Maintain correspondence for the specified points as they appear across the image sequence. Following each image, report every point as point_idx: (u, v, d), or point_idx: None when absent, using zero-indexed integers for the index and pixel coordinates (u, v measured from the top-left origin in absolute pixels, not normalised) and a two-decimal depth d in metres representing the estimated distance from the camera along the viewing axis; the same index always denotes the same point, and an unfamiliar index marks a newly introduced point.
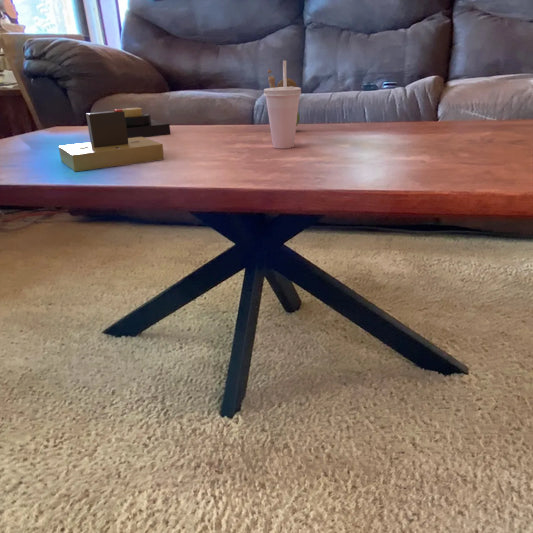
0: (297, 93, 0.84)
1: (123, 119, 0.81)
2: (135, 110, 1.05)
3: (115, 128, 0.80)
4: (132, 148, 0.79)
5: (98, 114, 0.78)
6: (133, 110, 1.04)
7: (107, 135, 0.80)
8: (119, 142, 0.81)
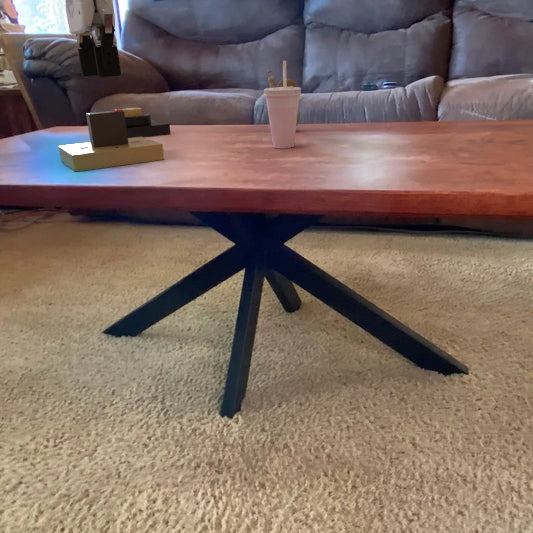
0: (297, 93, 0.84)
1: (123, 119, 0.81)
2: (135, 110, 1.05)
3: (115, 128, 0.80)
4: (132, 148, 0.79)
5: (98, 114, 0.78)
6: (133, 110, 1.04)
7: (107, 135, 0.80)
8: (119, 142, 0.81)
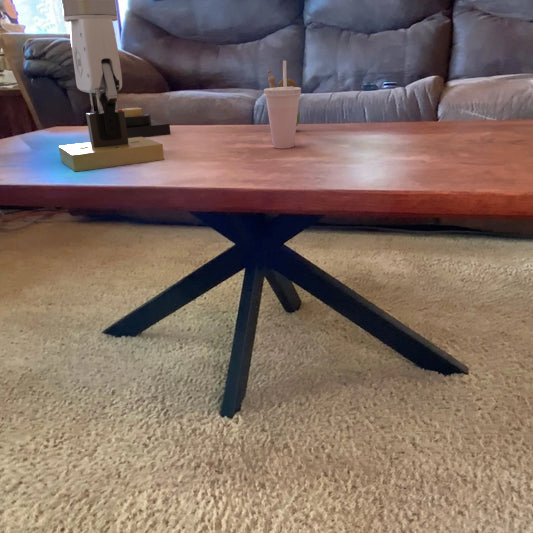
0: (297, 93, 0.84)
1: (123, 119, 0.81)
2: (135, 110, 1.05)
3: None
4: (132, 148, 0.79)
5: None
6: (133, 110, 1.04)
7: None
8: (119, 142, 0.81)
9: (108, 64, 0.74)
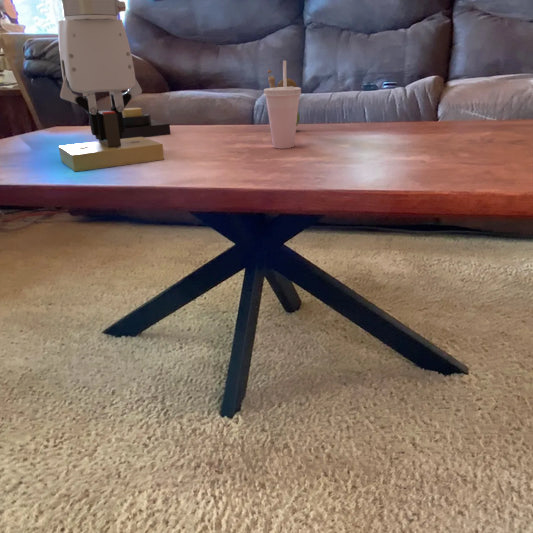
0: (297, 93, 0.84)
1: (104, 122, 0.78)
2: (135, 110, 1.05)
3: None
4: (132, 148, 0.79)
5: None
6: (133, 110, 1.04)
7: None
8: (105, 144, 0.80)
9: None
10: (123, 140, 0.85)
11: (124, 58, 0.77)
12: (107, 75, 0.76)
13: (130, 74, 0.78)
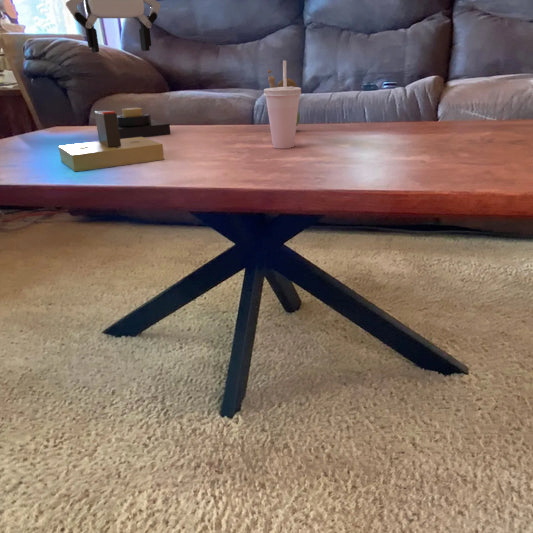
0: (297, 93, 0.84)
1: (104, 122, 0.78)
2: (135, 110, 1.05)
3: (102, 129, 0.79)
4: (132, 148, 0.79)
5: (96, 113, 0.80)
6: (133, 110, 1.04)
7: (101, 134, 0.81)
8: (105, 144, 0.80)
9: None
10: (123, 140, 0.85)
11: None
12: (121, 2, 0.93)
13: (140, 3, 0.95)
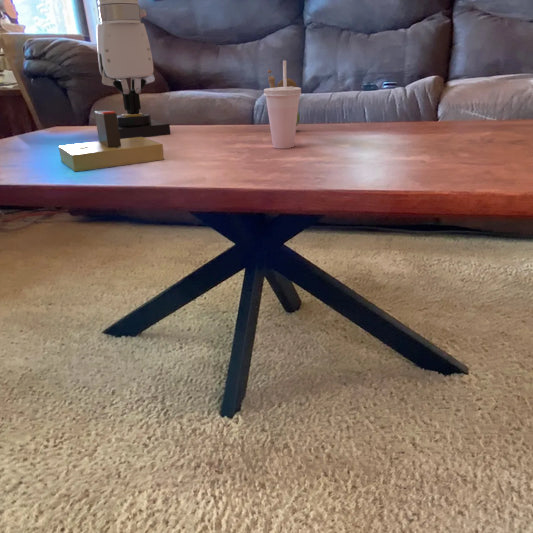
0: (297, 93, 0.84)
1: (104, 122, 0.78)
2: (136, 115, 1.05)
3: (102, 129, 0.79)
4: (132, 148, 0.79)
5: (96, 113, 0.80)
6: (134, 115, 1.05)
7: (101, 134, 0.81)
8: (105, 144, 0.80)
9: None
10: (123, 140, 0.85)
11: (145, 52, 1.02)
12: (133, 65, 1.01)
13: (150, 64, 1.03)
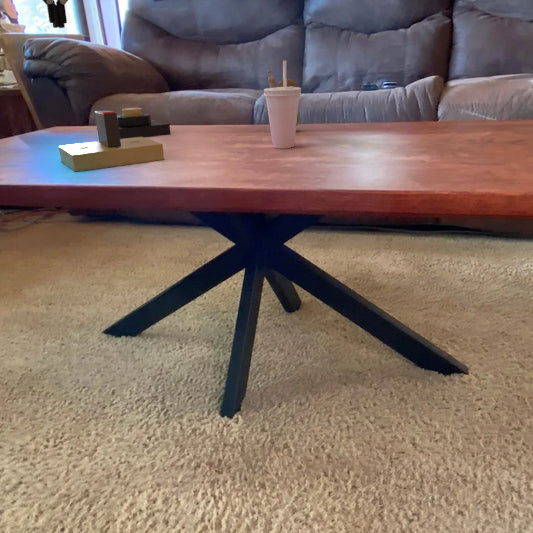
0: (297, 93, 0.84)
1: (104, 122, 0.78)
2: (135, 110, 1.05)
3: (102, 129, 0.79)
4: (132, 148, 0.79)
5: (96, 113, 0.80)
6: (133, 110, 1.04)
7: (101, 134, 0.81)
8: (105, 144, 0.80)
9: None
10: (123, 140, 0.85)
11: None
12: None
13: None
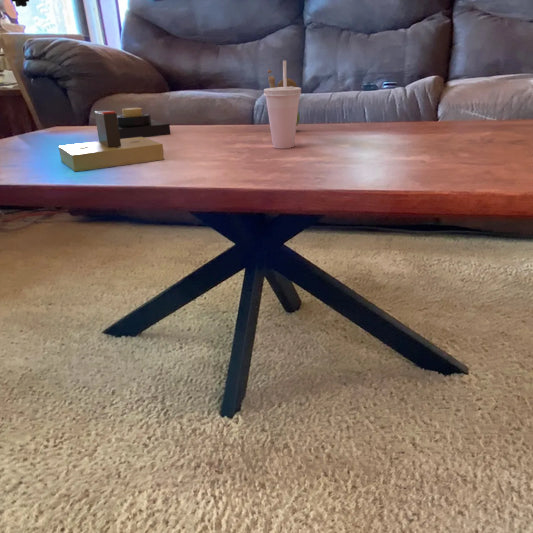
0: (297, 93, 0.84)
1: (104, 122, 0.78)
2: (135, 110, 1.05)
3: (102, 129, 0.79)
4: (132, 148, 0.79)
5: (96, 113, 0.80)
6: (133, 110, 1.04)
7: (101, 134, 0.81)
8: (105, 144, 0.80)
9: None
10: (123, 140, 0.85)
11: None
12: None
13: None
